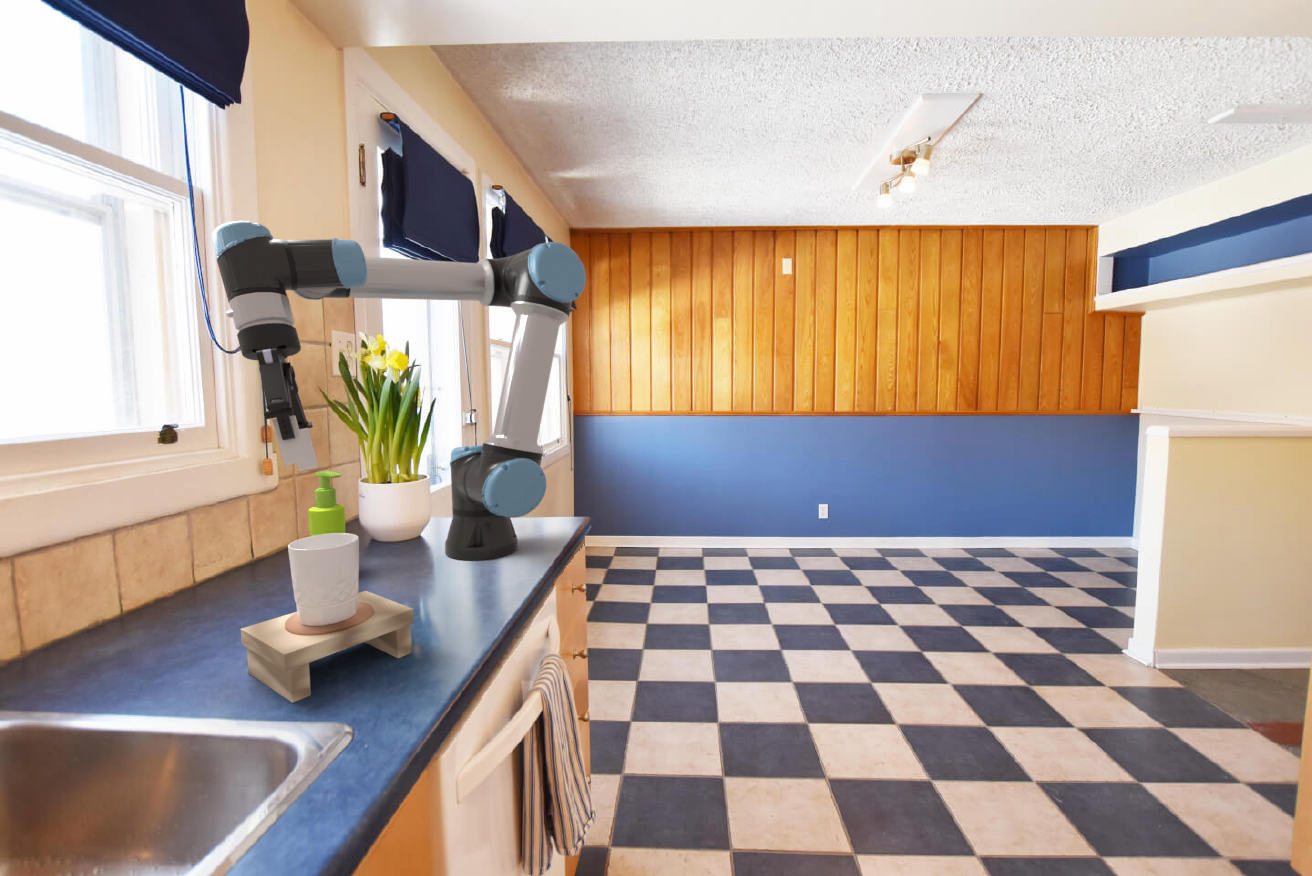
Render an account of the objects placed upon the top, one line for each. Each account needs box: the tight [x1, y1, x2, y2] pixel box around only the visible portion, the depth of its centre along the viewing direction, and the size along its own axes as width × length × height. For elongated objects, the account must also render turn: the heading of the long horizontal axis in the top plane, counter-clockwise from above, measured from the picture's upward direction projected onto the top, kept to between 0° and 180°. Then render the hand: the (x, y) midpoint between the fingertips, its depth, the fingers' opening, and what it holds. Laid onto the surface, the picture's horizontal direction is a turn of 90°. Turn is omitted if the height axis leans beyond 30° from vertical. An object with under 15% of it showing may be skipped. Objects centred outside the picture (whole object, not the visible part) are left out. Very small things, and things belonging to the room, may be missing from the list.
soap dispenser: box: [307, 470, 347, 536], centre depth 109 cm, size 6×7×20 cm
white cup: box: [287, 532, 360, 626], centre depth 75 cm, size 8×8×10 cm
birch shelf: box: [240, 590, 415, 704], centre depth 76 cm, size 16×12×6 cm
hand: (303, 466), depth 86 cm, fingers open, 13 cm apart
